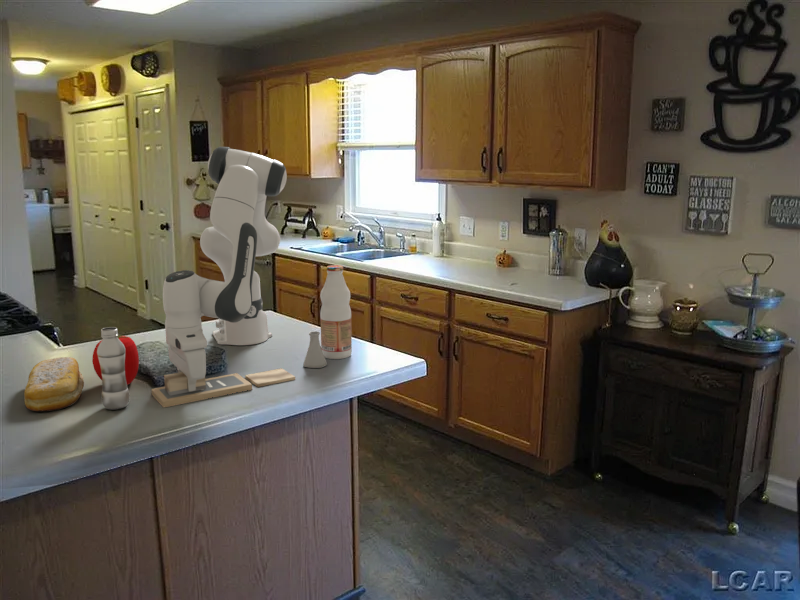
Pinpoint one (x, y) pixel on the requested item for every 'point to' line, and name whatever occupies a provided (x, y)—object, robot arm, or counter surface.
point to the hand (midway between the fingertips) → (187, 386)
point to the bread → (53, 384)
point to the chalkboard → (204, 390)
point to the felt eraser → (180, 383)
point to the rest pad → (269, 377)
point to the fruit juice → (335, 315)
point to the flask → (314, 353)
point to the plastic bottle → (113, 370)
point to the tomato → (130, 359)
